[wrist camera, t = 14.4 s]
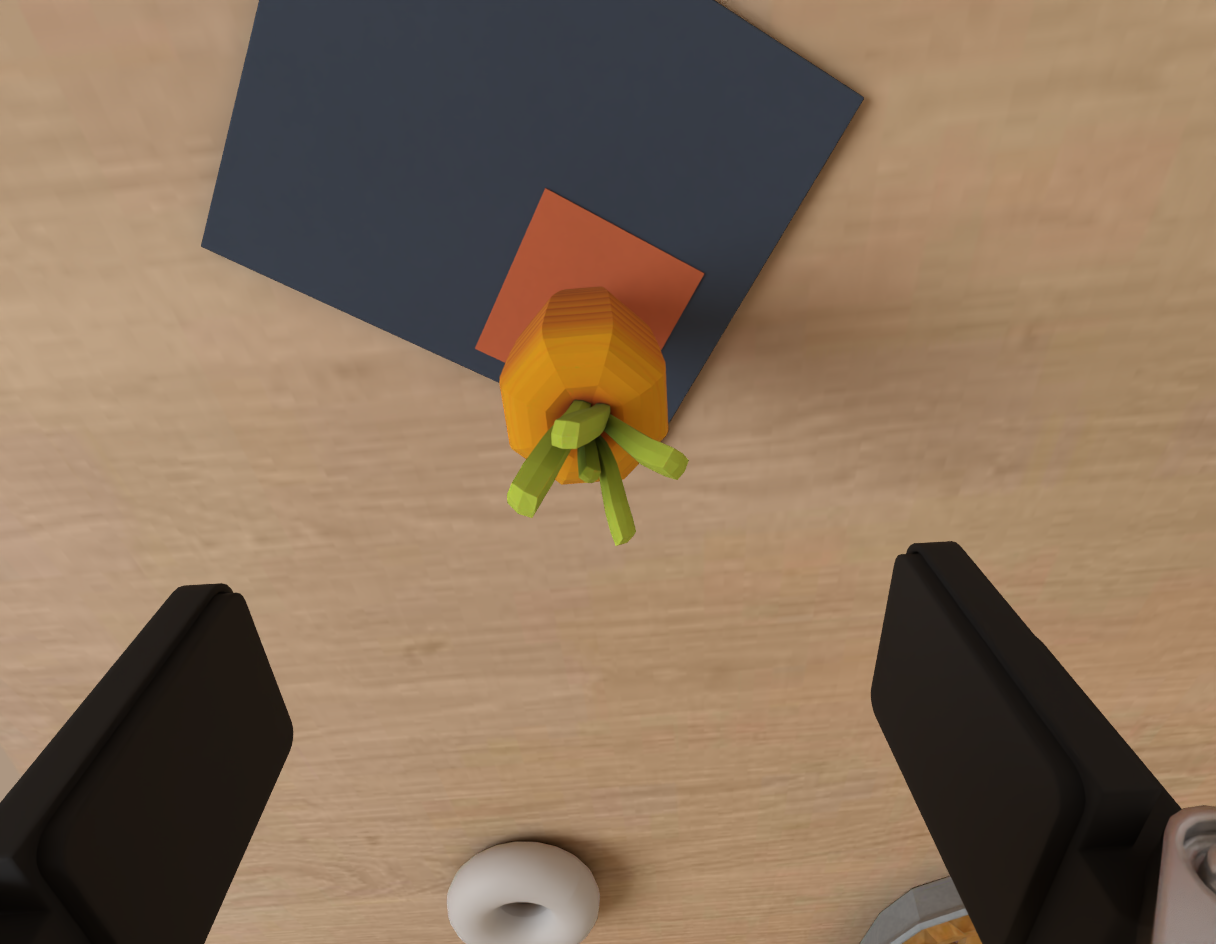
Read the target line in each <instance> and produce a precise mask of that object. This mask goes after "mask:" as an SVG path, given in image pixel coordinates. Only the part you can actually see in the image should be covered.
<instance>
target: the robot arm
mask: <svg viewBox="0 0 1216 944" xmlns="http://www.w3.org/2000/svg"><path fill="white" fill-rule="evenodd" d="M871 702H872V707H873V711H874V714H875V716H876V719H877V721H878V723H879V725H880V727H881V729H882V731H883V733H884V736H885V738H886V740H887V742H888V744H889V746H890V748H891V751H892V753H893V755H894V757H895V759H896V761H897V763H898V765H899V768H900V770H901V772H902V774H903V776H904V778H905V780H906V783H907V785H908V787H909V789H910V791H911V793H912V795H913V798H914V800H915V802H916V804H917V806H918V808H919V810H920V812H921V815H922V817H923V819H924V821H925V823H926V825H927V827H928V830H929V832H930V834H931V836H932V838H933V840H934V842H935V844H936V847H937V849H938V851H939V853H940V855H941V857H942V859H943V862H944V864H945V866H946V868H947V870H948V872H949V874H950V876H951V879H952V881H953V883H954V885H955V887H956V889H957V891H958V894H959V896H960V898H961V900H962V902H963V904H964V906H965V908H966V911H967V913H968V915H969V917H970V919H971V921H972V923H973V926H974V928H975V930H976V932H977V934H978V936H979V938H980V940H981V942H982V944H1216V807H1214V806H1206V805H1202V806H1195V807H1188V808H1183V809H1181V808H1180V806H1179V805H1178V804H1177V803H1176V802H1175V800H1174V799H1173V798H1172V797H1171V796H1170V794H1169V793H1168V792H1167V791H1166V790H1165V788H1164V787H1163V786H1162V785H1161V784H1160V782H1159V781H1158V780H1157V779H1156V778H1155V776H1154V775H1153V774H1152V773H1151V772H1150V770H1149V769H1148V768H1147V767H1146V766H1145V764H1144V763H1143V762H1142V761H1141V760H1140V758H1139V757H1138V756H1137V755H1136V754H1135V752H1134V751H1133V750H1132V749H1131V748H1130V746H1129V745H1128V744H1127V743H1126V742H1125V741H1124V739H1123V738H1122V737H1121V736H1120V735H1119V733H1118V732H1117V731H1116V730H1115V729H1114V727H1113V726H1112V725H1111V724H1110V723H1109V721H1108V720H1107V719H1106V718H1105V717H1104V715H1103V714H1102V713H1101V712H1100V711H1099V709H1098V708H1097V707H1096V706H1095V705H1094V703H1093V702H1092V701H1091V700H1090V699H1089V697H1088V696H1087V695H1086V694H1085V693H1084V691H1083V690H1082V689H1081V688H1080V687H1079V685H1078V684H1077V683H1076V682H1075V681H1074V679H1073V678H1072V677H1071V676H1070V675H1069V673H1068V672H1067V671H1066V670H1065V669H1064V667H1063V666H1062V665H1061V664H1060V663H1059V661H1058V660H1057V659H1056V658H1055V657H1054V655H1053V654H1052V653H1051V652H1050V651H1049V649H1048V648H1047V647H1046V646H1045V645H1044V644H1043V642H1041V641H1040V640H1039V639H1038V638H1037V637H1036V636H1035V635H1034V634H1033V633H1032V632H1031V630H1030V629H1029V628H1028V627H1027V626H1026V624H1025V623H1024V622H1023V621H1022V619H1021V618H1020V617H1019V616H1018V615H1017V613H1016V612H1015V611H1014V610H1013V609H1012V607H1011V606H1010V605H1009V604H1008V603H1007V601H1006V600H1005V599H1004V598H1003V597H1002V595H1001V594H1000V593H999V592H998V591H997V589H996V588H995V587H994V586H993V585H992V583H991V582H990V581H989V580H988V579H987V577H986V576H985V575H984V574H983V573H982V571H981V570H980V569H979V568H978V567H977V565H976V564H975V563H974V562H973V561H972V559H971V558H970V557H969V556H968V555H967V553H966V552H965V551H964V550H963V549H962V547H961V546H960V545H958V544H957V543H956V542H952V541H948V542H930V543H914V544H912V545H910V547H909V548H908V550H907V553H906V554H901V555H898V556H897V558H896V560H895V563H894V569H893V574H892V579H891V585H890V590H889V595H888V601H887V606H886V612H885V617H884V622H883V628H882V633H881V638H880V644H879V649H878V655H877V660H876V665H875V671H874V676H873V681H872V687H871ZM292 741H293V726H292V722H291V719H290V716H289V714H288V711H287V709H286V706H285V703H284V701H283V698H282V695H281V693H280V690H279V688H278V685H277V682H276V680H275V677H274V674H273V672H272V669H271V667H270V664H269V661H268V659H267V656H266V653H265V651H264V648H263V646H262V643H261V640H260V638H259V635H258V632H257V630H256V627H255V625H254V622H253V619H252V617H251V614H250V611H249V609H248V606H247V604H246V601H245V599H244V597H243V596H242V595H241V594H239V593H233V591H232V589H231V588H230V587H229V586H228V585H226V584H222V583H221V584H203V585H186V586H181V587H178V588H177V589H176V590H175V591H174V592H173V593H172V594H171V595H170V596H169V598H168V599H167V600H166V601H165V602H164V604H163V605H162V606H161V607H160V609H159V610H158V611H157V612H156V613H155V615H154V616H153V617H152V618H151V620H150V621H149V622H148V623H147V624H146V626H145V627H144V628H143V629H142V631H141V632H140V633H139V634H138V635H137V637H136V638H135V639H134V640H133V642H132V643H131V644H130V645H129V646H128V648H127V649H126V650H125V651H124V652H123V654H122V655H121V656H120V657H119V659H118V660H117V661H116V662H115V663H114V665H113V666H112V667H111V668H110V670H109V671H108V672H107V673H106V674H105V676H104V677H103V678H102V679H101V681H100V682H99V683H98V684H97V685H96V687H95V688H94V689H93V690H92V692H91V693H90V694H89V695H88V696H87V698H86V699H85V700H84V701H83V702H82V704H81V705H80V706H79V707H78V709H77V710H76V711H75V712H74V713H73V715H72V716H71V717H70V718H69V720H68V721H67V722H66V723H65V724H64V726H63V727H62V728H61V729H60V731H59V732H58V733H57V734H56V735H55V737H54V738H53V739H52V740H51V742H50V743H49V744H48V745H47V746H46V748H45V749H44V750H43V751H42V753H41V754H40V755H39V756H38V757H37V759H36V760H35V761H34V762H33V763H32V765H31V766H30V767H29V768H28V770H27V771H26V772H25V773H24V774H23V776H22V777H21V778H20V779H19V781H18V782H17V783H16V784H15V785H14V787H13V788H12V789H11V790H10V792H9V793H8V794H7V795H6V796H5V798H4V799H3V800H2V801H1V803H0V944H204V943H205V941H206V938H207V936H208V934H209V932H210V929H211V927H212V925H213V923H214V920H215V918H216V916H217V914H218V911H219V909H220V907H221V905H222V902H223V900H224V898H225V896H226V893H227V891H228V889H229V887H230V884H231V882H232V880H233V878H234V875H235V873H236V871H237V869H238V866H239V864H240V862H241V860H242V857H243V855H244V853H245V851H246V849H247V846H248V844H249V842H250V840H251V837H252V835H253V833H254V831H255V828H256V826H257V824H258V822H259V819H260V817H261V815H262V813H263V810H264V808H265V806H266V804H267V801H268V799H269V797H270V795H271V792H272V790H273V788H274V786H275V783H276V781H277V779H278V777H279V774H280V772H281V770H282V768H283V765H284V763H285V761H286V759H287V756H288V754H289V752H290V749H291V746H292Z"/></svg>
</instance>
